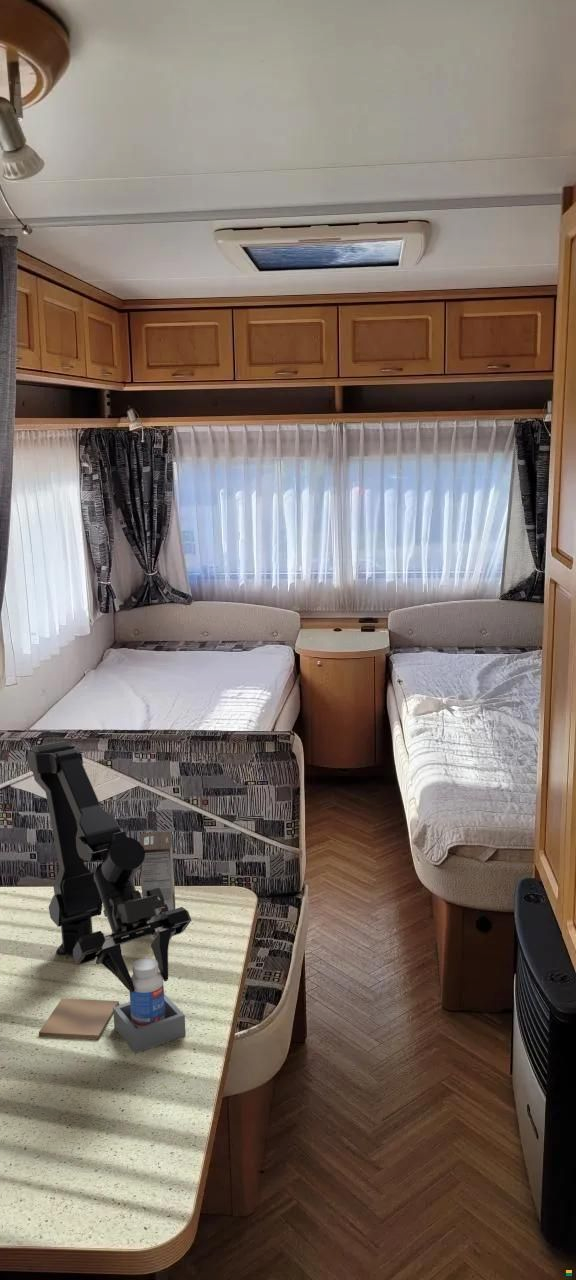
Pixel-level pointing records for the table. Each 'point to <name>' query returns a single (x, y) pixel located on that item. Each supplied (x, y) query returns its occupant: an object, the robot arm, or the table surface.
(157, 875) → the coffee box
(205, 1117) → the table surface
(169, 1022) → the holder box
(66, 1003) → the walnut coaster
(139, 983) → the pill bottle
